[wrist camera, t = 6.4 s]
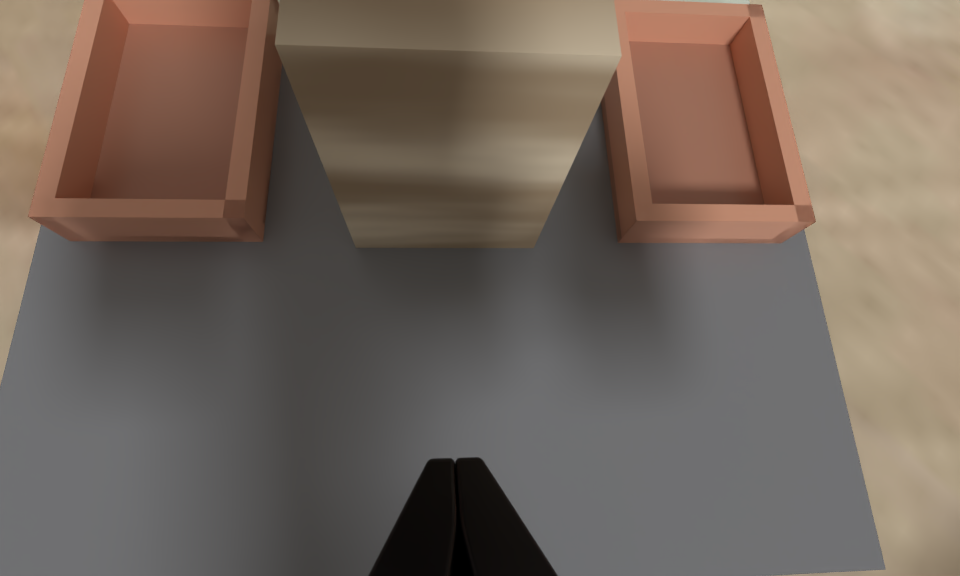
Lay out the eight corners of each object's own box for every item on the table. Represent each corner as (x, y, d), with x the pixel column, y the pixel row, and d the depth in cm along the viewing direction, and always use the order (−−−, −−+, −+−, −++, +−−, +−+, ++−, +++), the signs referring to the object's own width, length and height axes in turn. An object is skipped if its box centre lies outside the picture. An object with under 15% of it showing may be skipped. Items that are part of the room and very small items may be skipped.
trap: (263, 241, 17) (243, 217, 15) (70, 241, 17) (27, 216, 15) (286, 24, 20) (272, -16, 18) (121, 18, 19) (90, -24, 18)
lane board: (869, 565, 16) (948, 585, 14) (-38, 611, 14) (-141, 645, 11) (709, -124, 25) (739, -187, 23) (148, -159, 23) (114, -233, 21)
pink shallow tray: (780, 243, 19) (815, 221, 17) (617, 243, 18) (636, 220, 16) (735, 41, 21) (761, 4, 20) (592, 35, 21) (607, -2, 19)
